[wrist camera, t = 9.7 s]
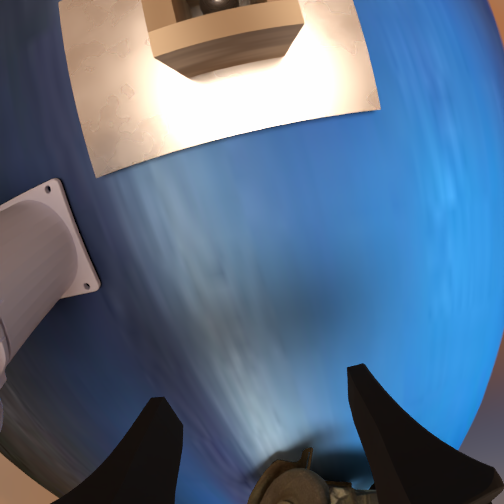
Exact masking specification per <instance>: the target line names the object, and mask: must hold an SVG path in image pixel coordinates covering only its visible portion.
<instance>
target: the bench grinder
mask: <svg viewBox="0 0 504 504" xmlns="http://www.w3.org/2000/svg"><path fill="white" fill-rule="evenodd" d="M309 452H310V454H309ZM312 453H313V448H312V447H310V448H306V449H305V450H303V451H302V455H301V458H300V459H299V460H298V461H297V462H289V461H284V460H276V461H275V462H273V463H272V464H271V465H270V466H269V468H268V469H267V470H266V471H265V472H264V473H263V475H262V476H261V478H260V479H259V481H258V482H257V484H256V485H255V487H254V489H253V491H252V493H251V495H250V497H249V500H248V503H247V504H379V503H378V498H377V493H376V488H375V484H373V485H372V486H371V487H370V489H369V490H355V489H353V488H352V483H351V482H340V481H326V480H324V479H323V478H321V477H320V476H319V475H318V474H317V473H315V472H313V471H311V470H310V465H311V459H312ZM308 454H309V460H308V465H307V469H306V462H307V458H308Z"/></svg>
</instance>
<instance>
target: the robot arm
mask: <svg viewBox="0 0 504 504" xmlns="http://www.w3.org/2000/svg"><path fill="white" fill-rule="evenodd" d="M48 186H50V188H51V192H50V191H49V190H48ZM86 283H87V284H89V286H90V287H88V286H87V285H86ZM100 285H101V283H100V280H99V278H98V276H97V274H96V272H95V269H94V267H93V265H92V262H91V260H90V258H89V255H88V253H87V251H86V248H85V246H84V243H83V241H82V238H81V236H80V233H79V231H78V228H77V226H76V223H75V220H74V218H73V215H72V212H71V209H70V207H69V204H68V201H67V198H66V195H65V192H64V189H63V186H62V183H61V181H60V180H59V179H57V178H54V179H51V180H49V181H47V182H45V183H43V184H41V185H39V186H37V187H35V188H33V189H31V190H29V191H27V192H25V193H23V194H21V195H19V196H17V197H15V198H13V199H11V200H10V201H8V202H6V203H4V204H2V205H0V389H1V387H2V386H3V384H4V383H5V381H6V380H7V378H6V375H5V368H6V366H7V365H8V363H9V362H10V361H11V359H12V358H13V357H14V355H15V354H16V353H17V351H18V350H19V349H20V347H21V346H22V345H23V343H24V342H25V341H26V339H27V338H28V337H29V335H30V334H31V333H32V332H33V330H34V329H35V328H36V327H37V325H38V324H39V323H40V322H41V320H42V319H43V318H44V317H45V316H46V314H47V313H48V312H49V311H50V309H51V308H52V307H53V306H54V305H55V304H56V302H57V301H58V300H59V299H61V298H65V297H70V296H75V295H80V294H84V293H89V292H94V291H97V290H98V289H99V287H100ZM347 377H348V400H349V404H350V408H351V412H352V416H353V420H354V424H355V426H356V429H357V432H358V435H359V437H360V440H361V443H362V446H363V448H364V451H365V454H366V457H367V459H368V462H369V465H370V468H371V471H372V475H373V479H374V484H375V488H376V493H377V498H378V503H379V504H492V502H491V501H492V500H493V499H494V498H495V497H496V496H498V494H500V493H501V492H502V491H503V489H504V484H503V481H502V479H501V477H500V476H499V474H498V473H497V471H496V470H495V468H494V467H491V466H489V465H486V464H484V463H481V462H479V461H477V460H475V459H473V458H471V457H469V456H467V455H465V454H463V453H461V452H459V451H458V450H456V449H454V448H453V447H451V446H449V445H448V444H446V443H445V442H443V441H441V440H440V439H439V438H437V437H436V436H434V435H433V434H432V433H430V432H429V431H428V430H426V429H425V428H424V427H422V426H421V425H420V424H419V423H418V422H416V421H415V420H414V419H413V418H412V417H411V416H410V415H409V414H408V413H407V412H405V411H404V410H403V409H402V408H401V407H400V406H399V405H398V404H397V403H396V402H395V400H394V399H393V398H392V397H391V396H390V395H389V394H388V393H387V392H386V391H385V390H384V388H383V387H382V386H381V385H380V384H379V382H378V381H377V380H376V379H375V378H374V376H373V375H372V374H371V372H370V371H369V370H368V368H367V367H366V365H365V364H363V363H362V364H359V365H355V366H351V367H347ZM2 423H3V407H2V402H1V399H0V431H1V428H2ZM182 447H183V424H182V423H181V421H180V420H179V418H178V417H177V415H176V414H175V412H174V411H173V409H172V408H171V406H170V405H169V403H168V402H167V400H166V399H165V397H155V398H151V399H150V400H149V402H148V403H147V404H146V406H145V407H144V409H143V410H142V412H141V413H140V415H139V416H138V418H137V419H136V421H135V422H134V423H133V425H132V426H131V428H130V429H129V431H128V432H127V433H126V435H125V436H124V438H123V439H122V440H121V441H120V443H119V444H118V445H117V447H116V448H115V449H114V450H113V452H112V453H111V454H110V455H109V456H108V458H107V459H106V460H105V461H104V462H103V463H102V464H101V465H100V466H99V467H98V468H97V469H96V470H95V471H94V472H93V473H92V474H91V475H90V476H89V477H88V478H86V479H85V480H84V481H83V482H82V483H81V484H79V485H78V486H77V487H75V488H74V489H73V490H71V491H70V492H69V493H67V494H66V495H64V496H63V497H61V498H59V499H58V500H56V501H54V502H52V503H51V504H175V490H176V484H177V478H178V472H179V466H180V460H181V453H182Z"/></svg>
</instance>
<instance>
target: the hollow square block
mask: <svg viewBox="0 0 504 504" xmlns="http://www.w3.org/2000/svg"><path fill="white" fill-rule="evenodd" d="M199 1H200V0H141V3H142V8H143V12H144V17H145V22H146V27H147V31H148V36H149V40H150V45H151V49H152V54H153V58H155V59H157V60H158V61H160V62H162V63H163V64H165V65H167V66H168V67H170V68H172V69H173V70H175V71H177V72H178V73H180V74H181V75H183V76H185V77H186V78H190V77H193V76H197V75H201V74H204V73H208V72H212V71H216V70H220V69H224V68H228V67H232V66H237V65H241V64H246V63H251V62H256V61H261V60H267V59H272V58H278V57H284V56H285V55H286V53H287V52H288V50H289V48H290V47H291V45H292V43H293V42H294V40H295V39H296V37H297V35H298V34H299V32H300V30H301V29H302V27H303V26H304V24H305V22H304V18H303V15H302V12H301V8H300V5H299V2H298V0H249V2H250V5H248V6H242V7H237V8H232V9H228V10H223V11H219V12H214V13H210V14H206V15H203V16H199V17H195V18H193V17H192V13H191V9H190V8H192V7H196V6H199Z"/></svg>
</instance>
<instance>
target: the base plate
mask: <svg viewBox="0 0 504 504" xmlns="http://www.w3.org/2000/svg"><path fill="white" fill-rule="evenodd" d="M298 2H299V5H300V8H301V12H302V15H303V18H304V22H305V24H304V26H303V27H302V29H301V30H300V32H299V34H298V35H297V37H296V39H295V40H294V42H293V43H292V45H291V47H290V48H289V50H288V52H287V53H286V55H285V56H284V57H278V58H272V59H267V60H261V61H256V62H251V63H246V64H241V65H237V66H232V67H228V68H224V69H220V70H216V71H212V72H208V73H204V74H201V75H197V76H193V77H190V78H186V77H185V76H183V75H181V74H180V73H178V72H177V71H175V70H173V69H172V68H170V67H168V66H167V65H165V64H163V63H162V62H160V61H158V60H157V59H155V58H153V54H152V49H151V45H150V40H149V36H148V31H147V27H146V22H145V17H144V12H143V8H142V3H141V0H62V1H61V2H59V12H60V20H61V28H62V35H63V42H64V48H65V54H66V59H67V65H68V70H69V75H70V80H71V85H72V90H73V94H74V99H75V103H76V107H77V111H78V115H79V119H80V123H81V127H82V131H83V135H84V138H85V142H86V146H87V149H88V153H89V156H90V159H91V163H92V166H93V169H94V173H95V176H96V178H98V177H101V176H103V175H106V174H109V173H111V172H114V171H117V170H120V169H122V168H125V167H128V166H131V165H134V164H137V163H140V162H143V161H146V160H149V159H152V158H155V157H158V156H161V155H164V154H168V153H171V152H174V151H178V150H181V149H184V148H188V147H191V146H195V145H198V144H202V143H206V142H209V141H213V140H217V139H221V138H225V137H229V136H233V135H237V134H241V133H245V132H250V131H254V130H259V129H263V128H268V127H273V126H277V125H282V124H287V123H293V122H298V121H303V120H309V119H315V118H321V117H327V116H334V115H340V114H347V113H355V112H362V111H371V110H380V109H381V108H380V103H379V98H378V93H377V88H376V84H375V79H374V75H373V70H372V66H371V62H370V58H369V54H368V50H367V47H366V43H365V39H364V36H363V32H362V29H361V25H360V22H359V19H358V16H357V12H356V9H355V6H354V3H353V0H298ZM248 5H250V2H249V0H200V1H199V6H196V7H192V8H190V9H191V13H192V17H193V18H195V17H199V16H203V15H206V14H210V13H214V12H219V11H223V10H228V9H232V8H237V7H242V6H248Z"/></svg>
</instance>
